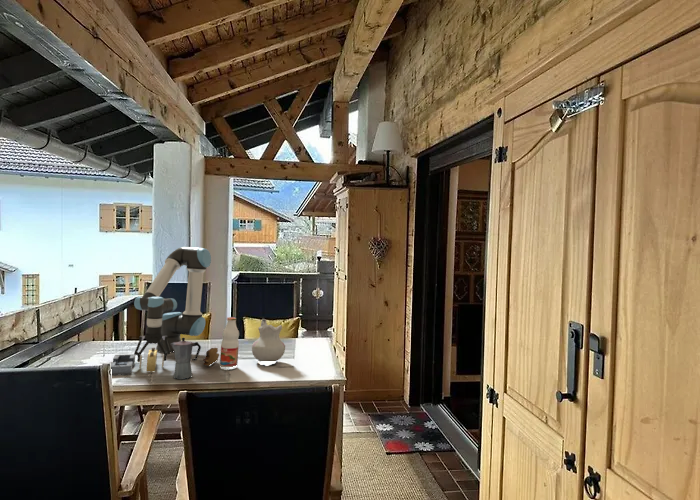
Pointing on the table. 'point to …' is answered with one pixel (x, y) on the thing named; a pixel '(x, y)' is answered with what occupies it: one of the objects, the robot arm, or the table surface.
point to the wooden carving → (211, 356)
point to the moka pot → (184, 358)
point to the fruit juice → (229, 344)
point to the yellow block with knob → (152, 360)
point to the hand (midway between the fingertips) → (151, 367)
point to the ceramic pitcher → (268, 343)
